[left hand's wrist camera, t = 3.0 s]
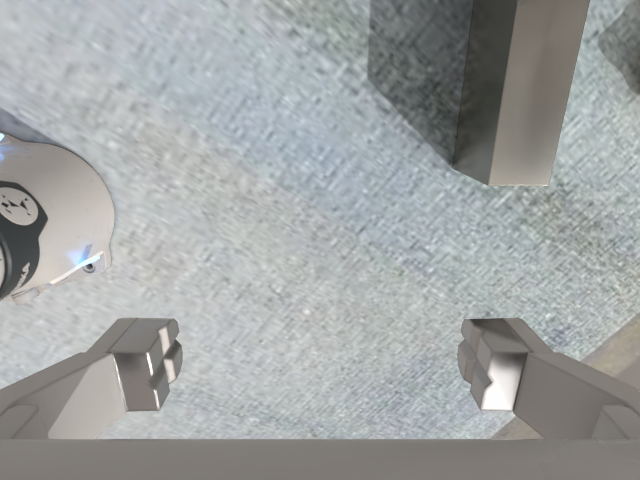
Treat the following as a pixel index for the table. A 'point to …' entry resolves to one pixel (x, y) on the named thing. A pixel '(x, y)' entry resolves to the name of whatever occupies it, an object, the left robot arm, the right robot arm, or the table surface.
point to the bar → (517, 88)
